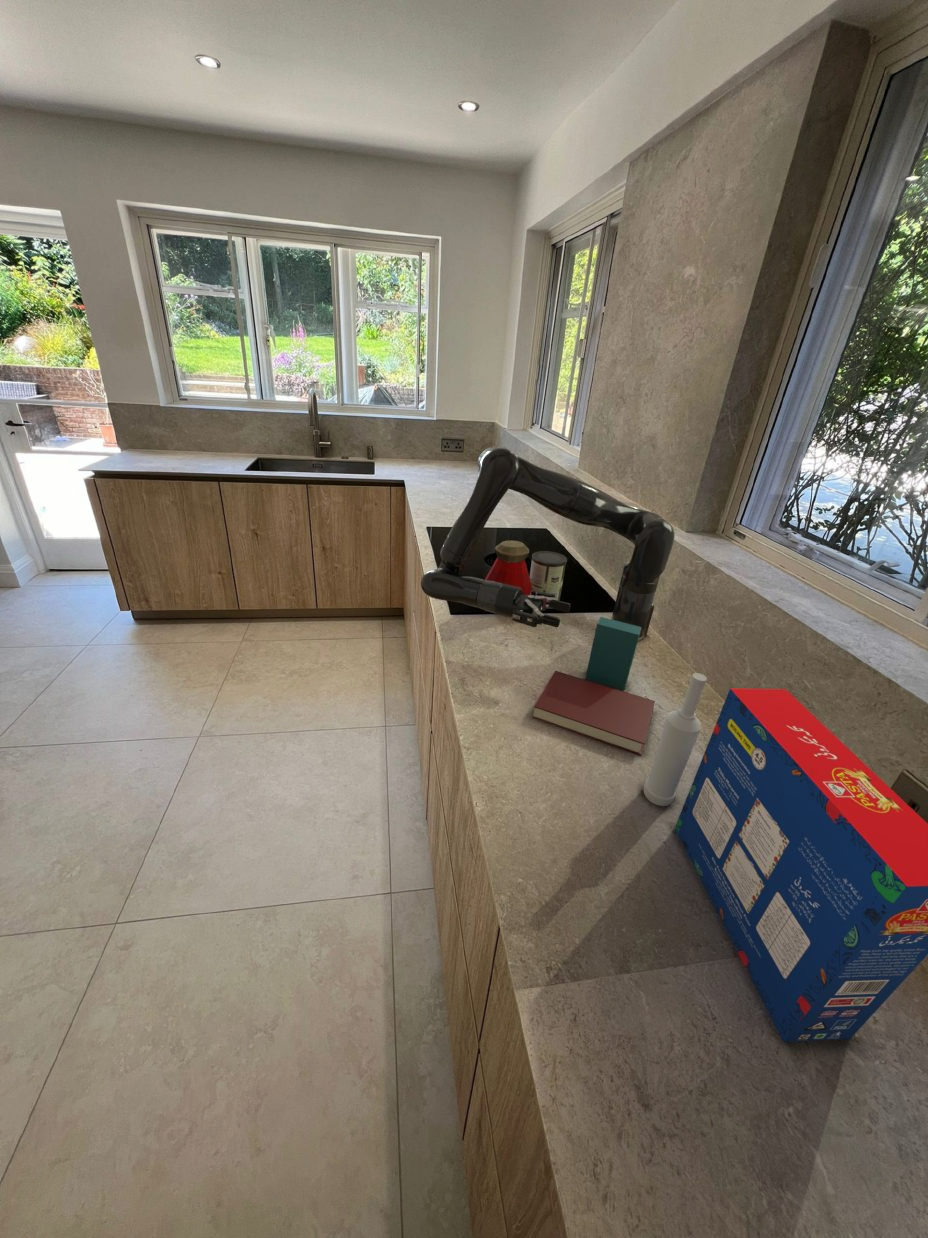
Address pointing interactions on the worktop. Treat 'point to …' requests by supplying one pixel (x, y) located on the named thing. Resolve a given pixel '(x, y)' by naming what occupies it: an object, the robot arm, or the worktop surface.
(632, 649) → the teal rectangular block
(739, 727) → the pasta box
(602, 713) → the oxblood cookbook
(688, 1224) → the worktop surface
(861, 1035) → the worktop surface
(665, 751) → the bottle
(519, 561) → the red lidded jar
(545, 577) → the coffee can
